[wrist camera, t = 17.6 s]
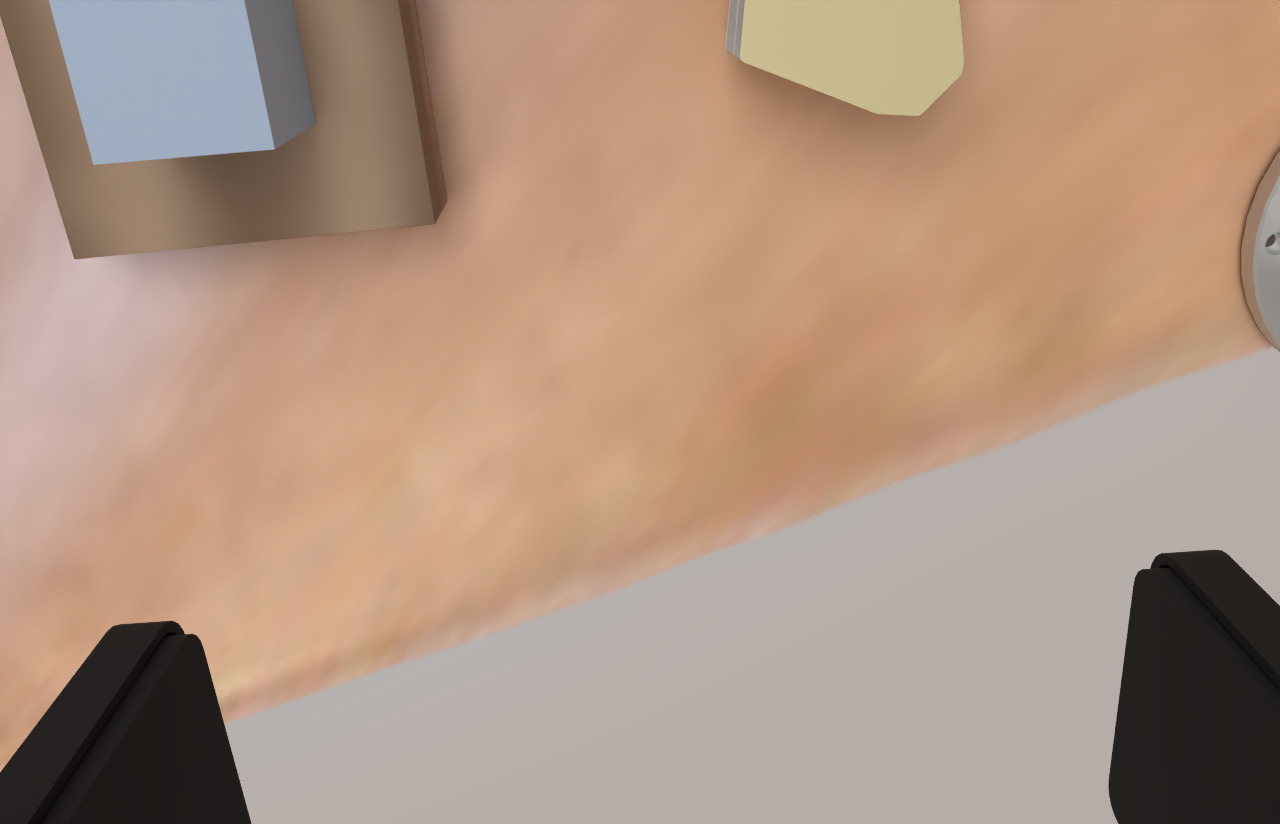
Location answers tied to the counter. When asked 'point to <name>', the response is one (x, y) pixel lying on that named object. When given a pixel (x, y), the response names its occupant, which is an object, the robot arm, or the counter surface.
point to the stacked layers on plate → (854, 48)
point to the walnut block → (257, 180)
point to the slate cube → (184, 76)
